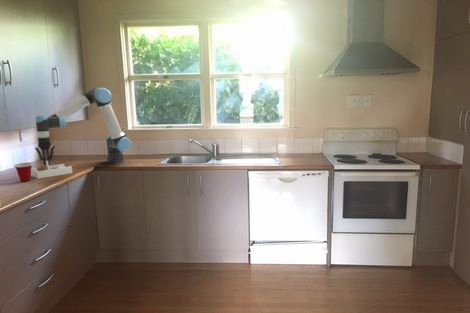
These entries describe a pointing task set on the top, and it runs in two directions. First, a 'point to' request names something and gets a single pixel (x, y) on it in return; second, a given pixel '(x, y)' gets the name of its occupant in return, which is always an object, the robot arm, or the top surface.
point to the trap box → (51, 171)
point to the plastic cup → (24, 171)
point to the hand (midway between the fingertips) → (47, 169)
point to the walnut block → (42, 168)
